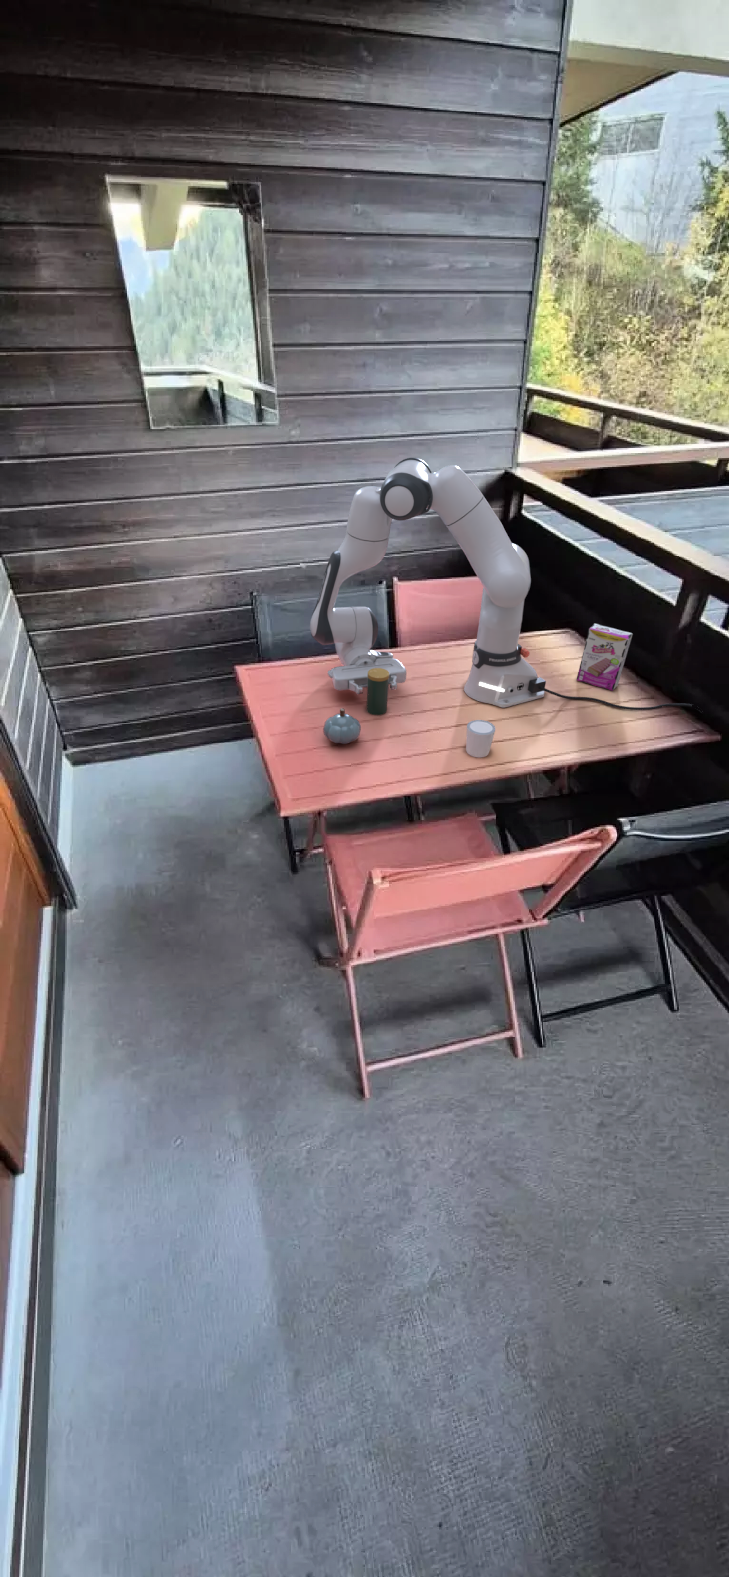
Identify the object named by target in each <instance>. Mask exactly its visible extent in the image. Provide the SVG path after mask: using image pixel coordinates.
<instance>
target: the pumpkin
mask: <svg viewBox="0 0 729 1577" xmlns="http://www.w3.org/2000/svg"><path fill="white" fill-rule="evenodd" d="M361 730H362V726H361V723H360V721H359V720H358V719H357V718H355V717H354V716H352V715H350V714H348V713H346V709H345V708H342V707H341V708H340V709H339V713H336V714H334V715H333V716H329V717H328V718H327V719H326V720H325V722H324V725H323V731H322V732H323V734H324V736H325V738H327V740H330V741H331V742H332V743H334V744H341V745H347V744H350V743H351V742H354V741H356V740H358V739H359V737H360V735H361Z"/></svg>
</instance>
